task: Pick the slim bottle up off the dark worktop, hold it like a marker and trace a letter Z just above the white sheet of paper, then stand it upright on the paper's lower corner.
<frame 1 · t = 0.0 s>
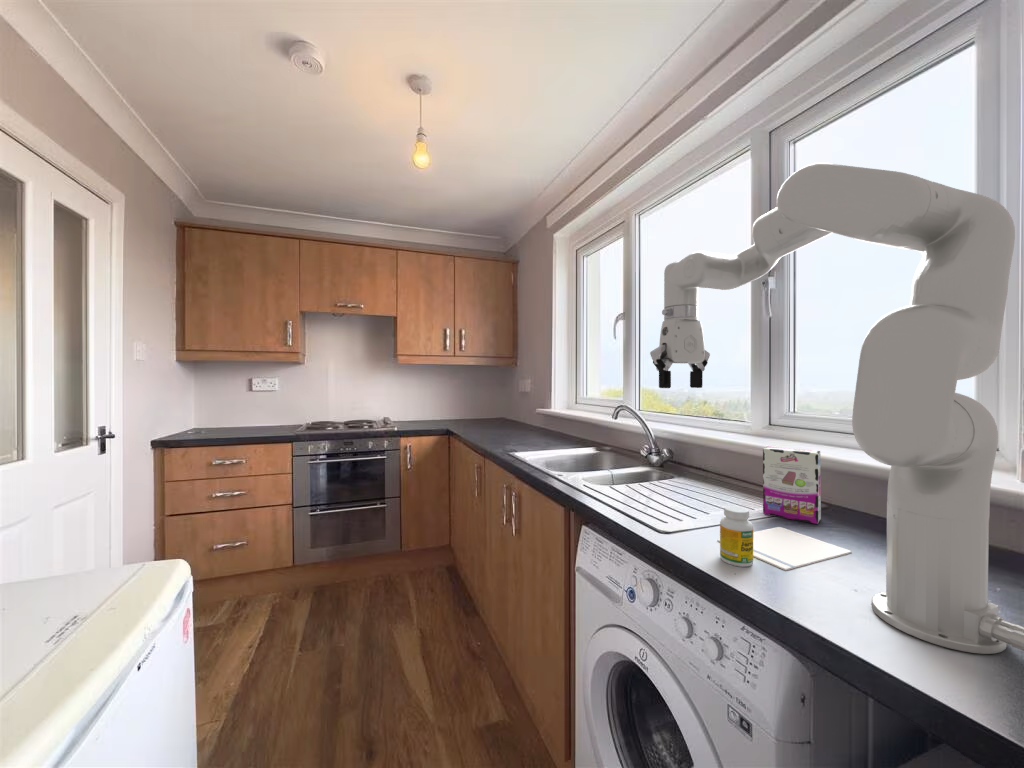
hand: (680, 387, 96), 31 cm above the worktop, tool pointing down, fingers open, 9 cm apart
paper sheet: (782, 546, 81), on the worktop
candy bar box: (791, 517, 98), on the worktop
supplement bottle: (736, 562, 74), on the worktop
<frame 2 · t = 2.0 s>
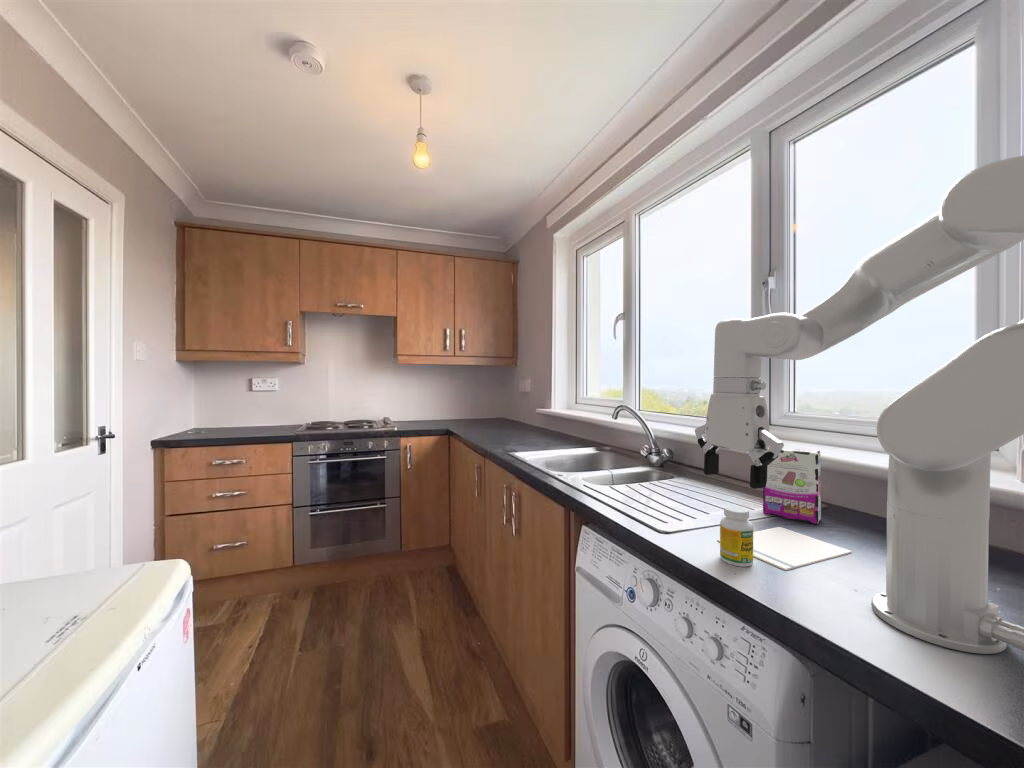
hand: (733, 480, 75), 15 cm above the worktop, tool pointing down, fingers open, 9 cm apart
nothing on the worktop moved.
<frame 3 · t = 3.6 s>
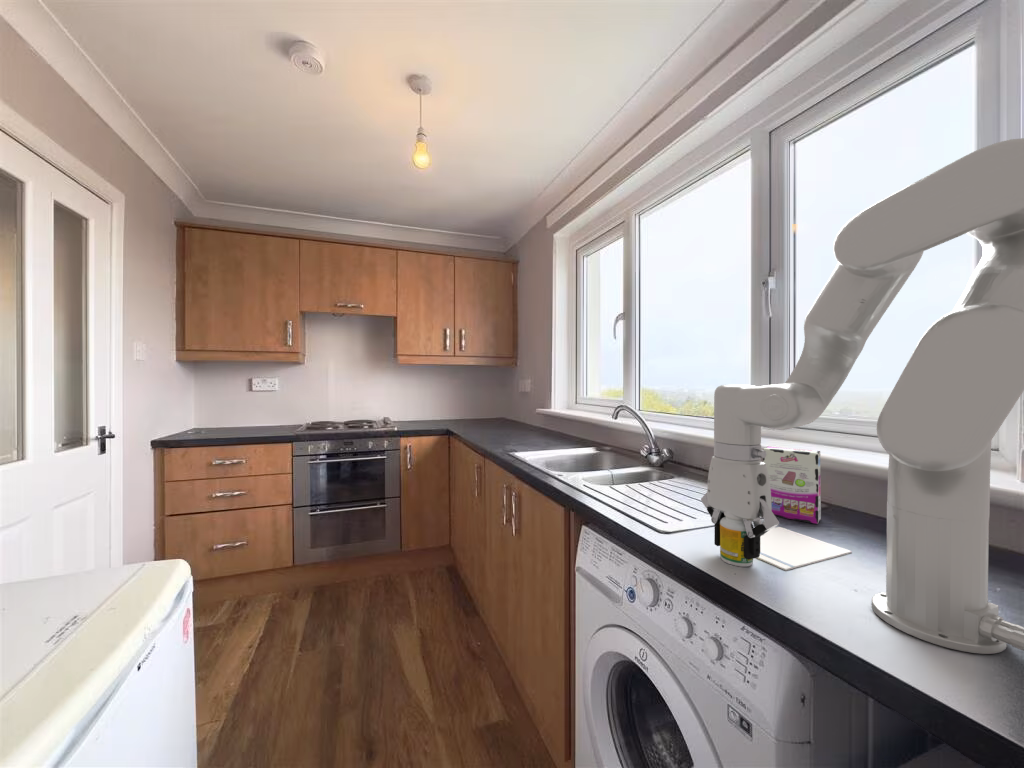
hand: (736, 549, 74), 2 cm above the worktop, tool pointing down, fingers closed on supplement bottle, 5 cm apart
supplement bottle: (736, 562, 74), on the worktop, touching gripper
everything else where it was.
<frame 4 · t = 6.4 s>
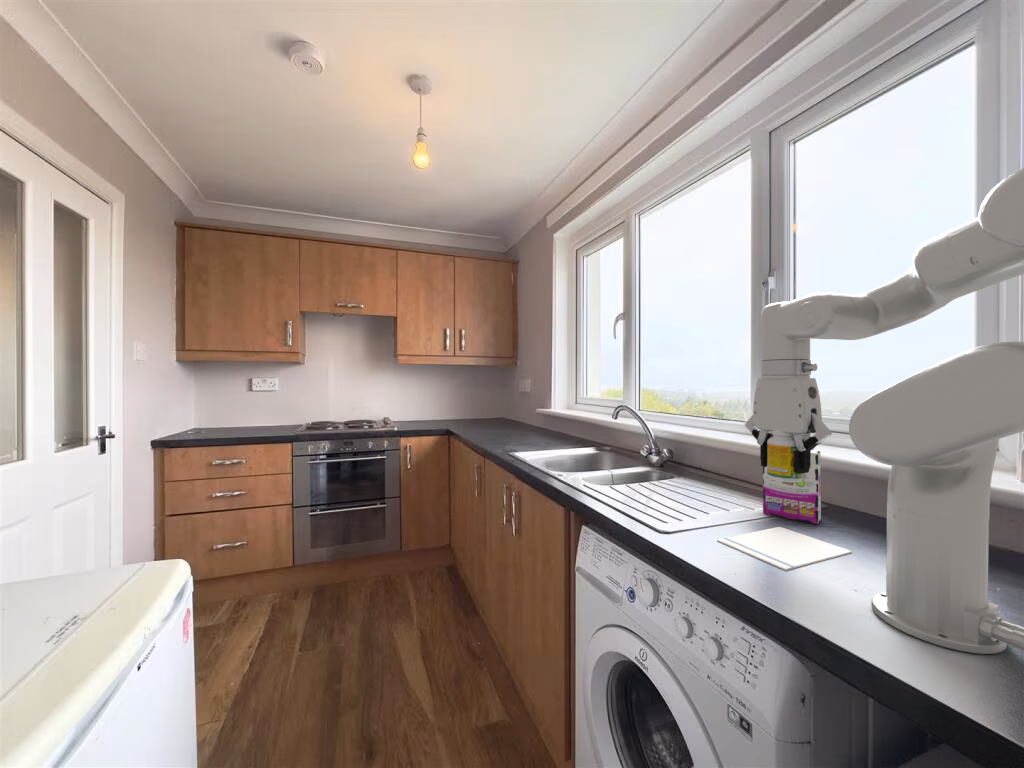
hand: (784, 468, 75), 17 cm above the worktop, tool pointing down, fingers closed on supplement bottle, 5 cm apart
supplement bottle: (784, 480, 75), point 15 cm above the worktop, touching gripper
everything else where it was.
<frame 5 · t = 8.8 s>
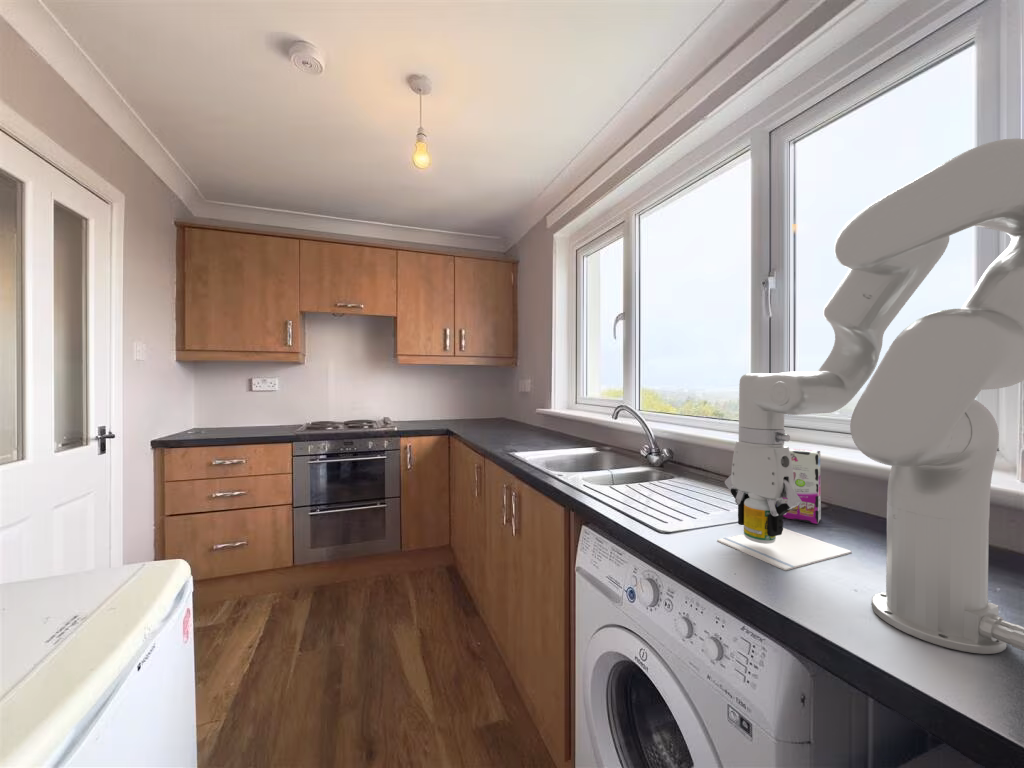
hand: (759, 528, 79), 4 cm above the worktop, tool pointing down, fingers closed on supplement bottle, 5 cm apart
supplement bottle: (759, 539, 79), point 2 cm above the worktop, touching gripper
everything else where it was.
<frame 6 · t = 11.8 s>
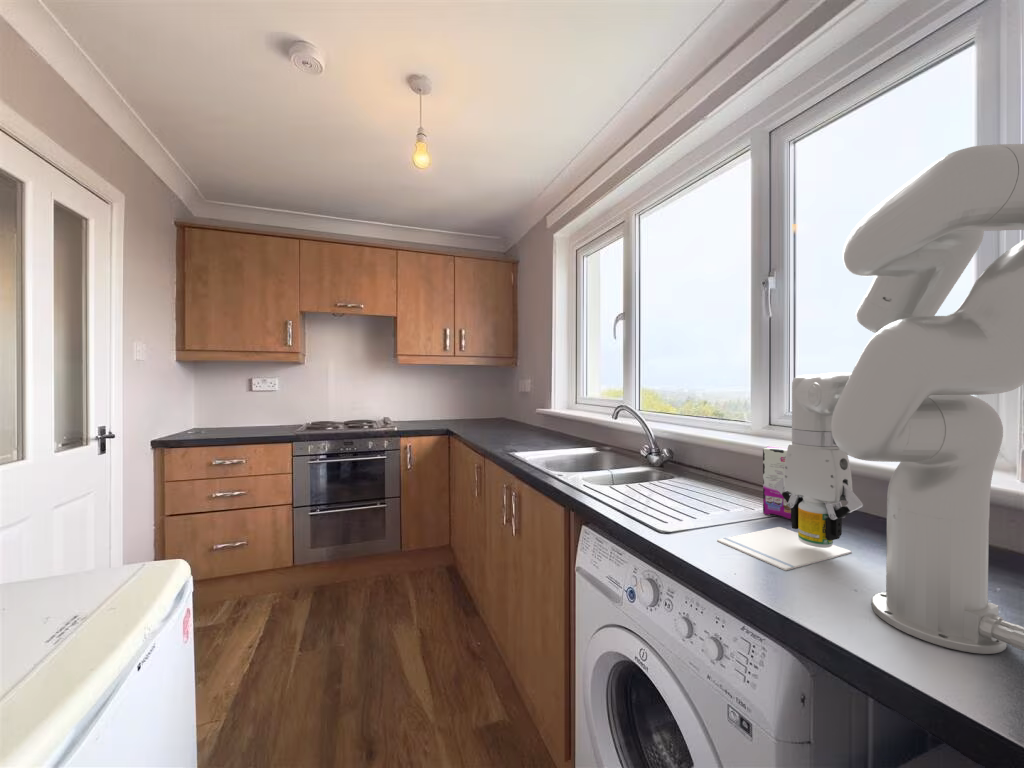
hand: (815, 532, 78), 4 cm above the worktop, tool pointing down, fingers closed on supplement bottle, 5 cm apart
supplement bottle: (815, 543, 78), point 2 cm above the worktop, touching gripper
everything else where it was.
when the fingers open (4 cm above the worktop, at t = 14.2 s): supplement bottle drops 1 cm, resting on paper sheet.
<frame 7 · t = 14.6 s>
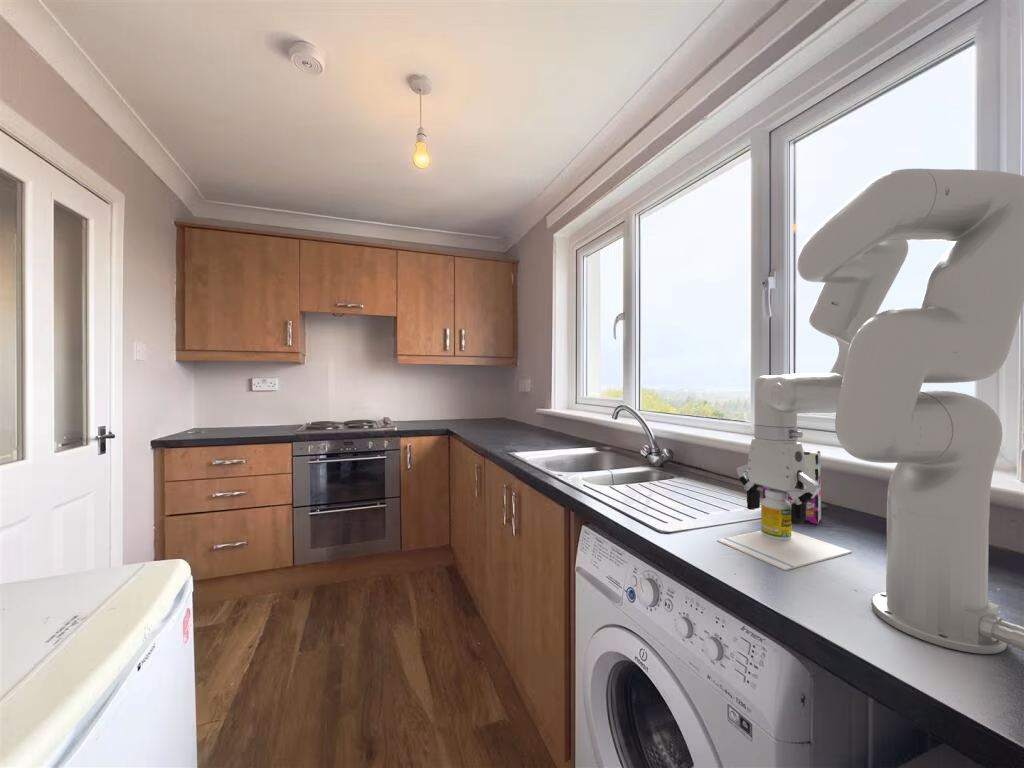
hand: (774, 515, 86), 5 cm above the worktop, tool pointing down, fingers open, 9 cm apart
supplement bottle: (776, 537, 85), resting on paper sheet
everything else where it was.
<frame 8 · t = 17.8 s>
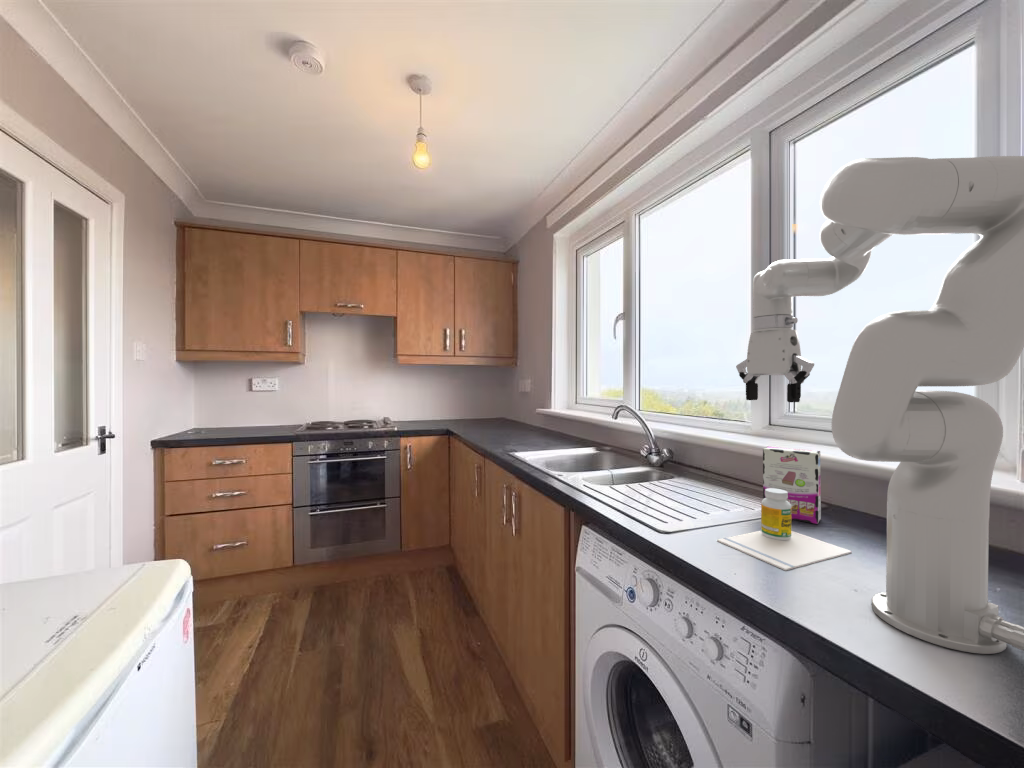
hand: (771, 401, 92), 28 cm above the worktop, tool pointing down, fingers open, 9 cm apart
nothing on the worktop moved.
at the end: supplement bottle inside the target area (0.9 cm from its centre), resting on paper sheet; supplement bottle tilted 0°; the gripper is holding nothing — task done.
